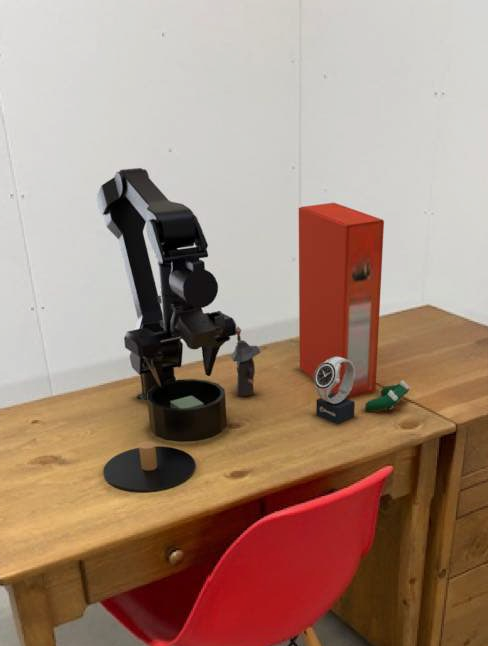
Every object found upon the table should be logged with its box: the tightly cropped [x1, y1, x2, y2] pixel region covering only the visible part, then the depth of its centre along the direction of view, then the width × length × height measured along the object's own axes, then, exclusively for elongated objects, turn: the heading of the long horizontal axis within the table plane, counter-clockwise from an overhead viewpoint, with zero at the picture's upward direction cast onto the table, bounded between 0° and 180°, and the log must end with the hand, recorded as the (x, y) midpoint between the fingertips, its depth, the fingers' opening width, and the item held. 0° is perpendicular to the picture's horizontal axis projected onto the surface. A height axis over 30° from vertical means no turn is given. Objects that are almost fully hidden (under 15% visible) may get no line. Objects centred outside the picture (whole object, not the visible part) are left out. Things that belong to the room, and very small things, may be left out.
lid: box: [102, 440, 196, 493], centre depth 128 cm, size 15×15×5 cm
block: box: [170, 396, 204, 409], centre depth 142 cm, size 4×4×4 cm
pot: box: [146, 378, 228, 443], centre depth 141 cm, size 14×14×6 cm
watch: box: [313, 357, 356, 425], centre depth 143 cm, size 6×8×11 cm
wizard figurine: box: [230, 325, 261, 397], centre depth 153 cm, size 8×6×12 cm
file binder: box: [298, 202, 385, 399], centre depth 152 cm, size 8×17×32 cm, turn 26°
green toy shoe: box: [364, 379, 410, 412], centre depth 149 cm, size 9×4×6 cm
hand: (185, 381), depth 138 cm, fingers open, 9 cm apart
